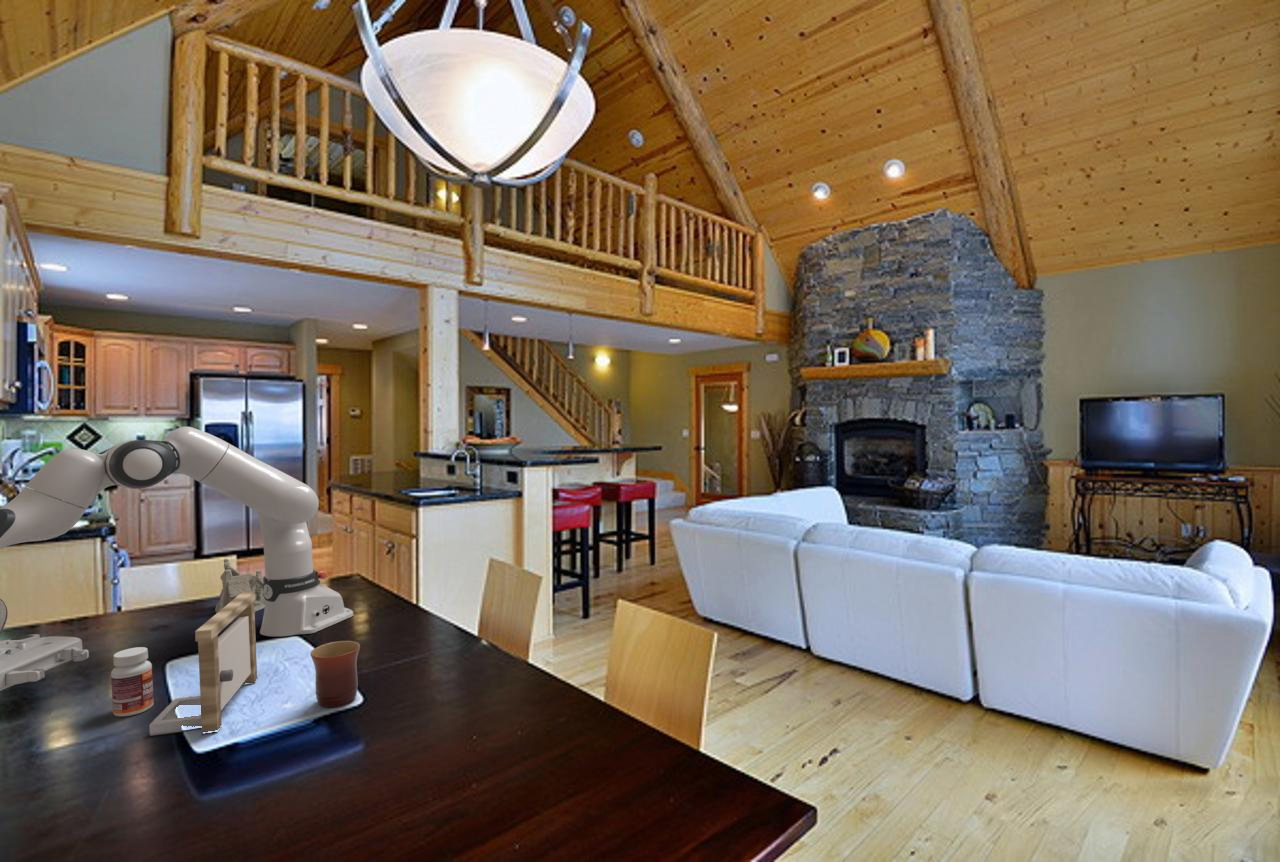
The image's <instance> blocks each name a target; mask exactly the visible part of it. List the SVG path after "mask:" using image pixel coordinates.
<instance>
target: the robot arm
mask: <svg viewBox="0 0 1280 862" xmlns="http://www.w3.org/2000/svg"><path fill="white" fill-rule="evenodd" d="M173 473H180V474H182V475H185V476H187V477H189V478H191V479H193V480H195V481H196V482H198V483H201V484H203V485H204V486H206V487H208V488H210V489H212V490H214V491H216V492H218V493H220V494H222V495H224V496H225V497H228V498H230V499H232V500H234V501H236V502H238V503H240V504H242V505H244V506H246V507H248V508H251V509H252V510H254V511H256V512H257V513H258V520H259V521H258V522H259V523H258V524H259V527H260V533H261V539H262V544H263V545H262V546H263V556H264V557H263V560H264V561H263V562H264V576H263V577H264V578H263V590H264V599H265V608H263V609H264V610H263V616H262V620H261V621H262V623H261V627H260V630H259V634H260V635H262V636H266V637H287V636H295V635H306V634H307V635H308V634H309V635H311V634H314V633H317V632H318V631H321V630H324V629H326V628H328V627H330V626H333V625H336V624H337V623H340V622H342V621H344V620H347V619H349V618H352V617H353V616H354V611H353V610H352V609H350V608H347V607H345V605H344V604H345V603H344V600H343V597H342V595H341V594H340V593H339V592H338V591H335V590H333V589H332V588H330V587H328V586H326V585H324V584H322V583H321V582H320V579H322V580H326V579H327V578H328V575H329V574H328V572H327V571H325V570H324V571H323V570H320V571H317V570H314V563H313V562H314V561H313V541H312V539H311V536H310V532H309V529H308V528H309V527H308V523H307V522H309V521H310V520H311V519H312V518H314V516H315V515H316V514H317V512H318V510H319V506H320V505H319V504H320V503H319V497H318V496H317V493H316V492H315V491H314V489H313V488H311V486H309V485H308V484H306V483H304V482H302V481H301V480H299V479H297V478H295V477H293V476H291V475H289V474H287V473H285V472H284V471H281V470H279V469H277V468H276V467H274V466H272V465H269V464H267V463H265V462H264V461H262V460H260V459H258V458H256V457H254V456H252V455H251V454H249V453H248V452H245V451H244V450H242V449H239V448H238V447H237V446H234V445H233V444H231V443H229V442H227V441H226V440H223V439H221V438H219V436H218V437H217V436H215V435H213V434H212V433H209V432H206V431H203V430H201V429H198V428H195V427H192V426H182V427H181V426H180V427H177V428H176V429H173V430H172V431H170V432H169V433H168V434H167V435H166V436H165V438H164V439H162V440H153V439H152V440H151V439H130V440H125V441H122V442H120V443H118V444H116V445H113V446H112V447H109V448H108V449H106V450H104V451H102V452H99V453H96V452H93V451H90V450H85V449H81V448H66V449H63V450H60V451H59V452H58V453H56V454H55V455H54V456H53V457H52V458H50V459H49V461H47V462H46V463H45V464H44V465H43V466H42V467H41V468H40V469H39V470H38V471H36V473H35V475H33V476H32V478H31V479H30V480H29V481H28V482H27V484H26V485H25V486H24V487H23V489H22V490H20V492H19V493H18V494H17V495H16V496H15V497H13V498H12V499H11V500H10V501H9V502H8V503H6V504H5V505H3V506H1V507H0V550H2V549H3V548H6V547H8V546H9V547H10V546H12V545H17V544H20V543H21V544H22V543H28V542H39V541H47V540H51V539H54V538H58V537H59V536H62V535H64V534H66V533H67V532H68V531H71V529H72V528H73V527H75V526H76V524H77V523H78V522H79V520H81V518H82V516H83V515H84V514H85V512H86V511H87V510H88V508H89V507H90V505H91V504H92V502H93V501H94V500H95V498H96V497H97V496H98V495H99V494H100V493H101V492H102V491H103V490H106V488H108V487H112V486H116V487H121V488H125V489H129V490H130V489H131V490H140V489H146V488H150V487H153V486H156V485H157V484H159V483H161V482H163V481H164V480H165V479H166V478H167V477H169V476H170V475H172V474H173ZM7 620H8V607H7V605H6V602H5V601H4V600H3V599H1V598H0V635H2V632H3V630H4V628H5V626H6V623H7ZM40 636H41V635H40V634H37V633H36V634H26V635H22V636H18V637H14V638H11V639H4V640H3V639H2V640H1V639H0V692H2V691H3V690H6V689H8V688H10V687H12V686H15V685H19V684H24V683H29V682H31V683H33V682H38V681H40V680H42V679H45V678H46V674H45V672H46V671H48V670H51V669H53V668H56V667H58V666H60V665H62V664H65V663H68V662H69V661H71V660H73V662H83V661H85V660H87V659H88V658H89V657H90V653H89V652H90V651H89V650H88V649H83V640H82V639H81V638H80V637H75V636H57V635H55V636H54V635H53V636H42V637H40Z"/></svg>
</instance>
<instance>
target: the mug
mask: <svg viewBox="0 0 1280 862" xmlns="http://www.w3.org/2000/svg"><path fill="white" fill-rule="evenodd" d="M360 649H361V644H360V642H358V641H353V640H339V641H331V642H329V643H325V644H321V645H319V646H317V647H315V648H314V649H312V650H311V652H310V657H311V660H312V662H313V665H314V669H315V692H314V693H315V696H316V697H315V698H316V700H317V703H318V705H319V706H322V707H324V708H335V707H336V708H337V707H340V706H345V705H347V704H349V703H351V702H352V701H353V700H354V699H355V698H356V696H357V695H358V694H357V693H358V687H359V684H358V683H359V681H358V667H357V662H358V661H357V660H358V656H359V652H360Z"/></svg>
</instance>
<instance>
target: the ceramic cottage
mask: <svg viewBox="0 0 1280 862" xmlns="http://www.w3.org/2000/svg"><path fill="white" fill-rule="evenodd" d="M223 569H224V571H223V572H222V574H221V575H220V580H221V581H222V582H221V584H222V589H221V591H220V594H219V601H217V603H216V605H215V609H214V612H215V613H216V614H217V613H218V612H219V611H220V610H221V609H223V608H224V607H225V606H226V605H227V604H229V603H230V602H231V601H232V600H233V599H235V598H236V597H237V596H238V595H239V594H240V593H242V592H247V591H255V598H256V599H255V600H254V611H255V613H256V612H258V611H260V610H263V609H264V608H265V599H264V590H263V578H264V577H265V576H263V574H262V573H263V572H262V570H261V569H257V570H256V571H255V575H254V574H253V573H251V572H249V573H243V574H241V572H240V571H238V570H237V569H234V567H232V566H231V563H230V561H229V559H228V558H224V559H223Z"/></svg>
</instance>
